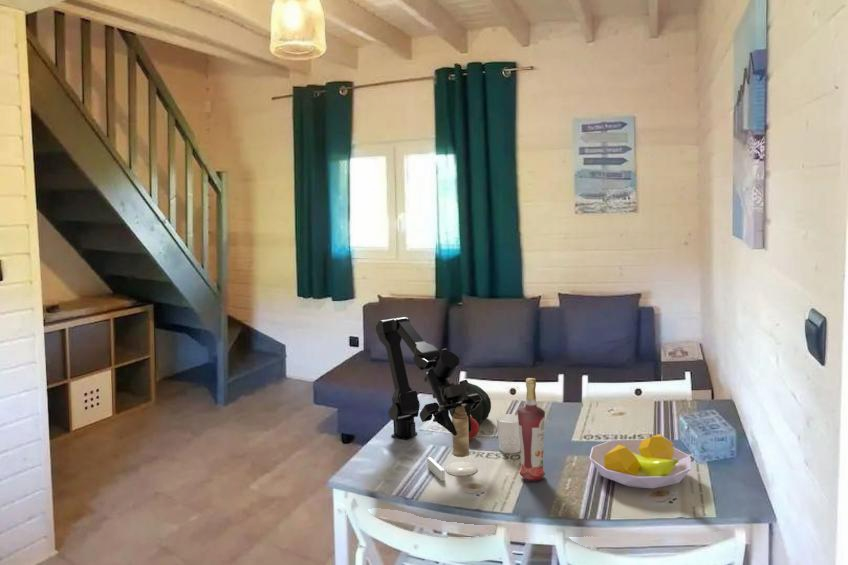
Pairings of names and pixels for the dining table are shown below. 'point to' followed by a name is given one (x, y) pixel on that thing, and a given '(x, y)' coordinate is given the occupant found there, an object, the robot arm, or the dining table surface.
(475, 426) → the onion
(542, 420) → the liquor
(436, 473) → the divider wall
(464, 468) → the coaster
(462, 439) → the pepper mill
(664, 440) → the fruit bowl
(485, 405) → the squash
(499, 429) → the white cup
